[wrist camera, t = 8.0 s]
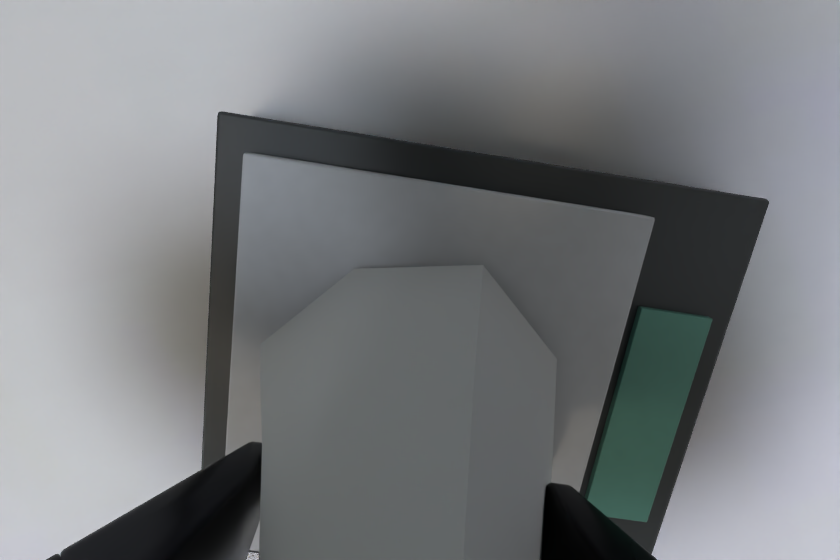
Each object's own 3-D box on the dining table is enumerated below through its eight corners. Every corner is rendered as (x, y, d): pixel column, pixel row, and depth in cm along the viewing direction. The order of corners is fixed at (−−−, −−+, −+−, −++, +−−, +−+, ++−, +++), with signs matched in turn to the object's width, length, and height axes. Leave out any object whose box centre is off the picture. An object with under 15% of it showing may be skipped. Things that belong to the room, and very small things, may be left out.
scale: (612, 554, 15) (647, 627, 13) (222, 502, 15) (184, 567, 13) (723, 195, 12) (795, 202, 10) (246, 118, 12) (201, 106, 10)
